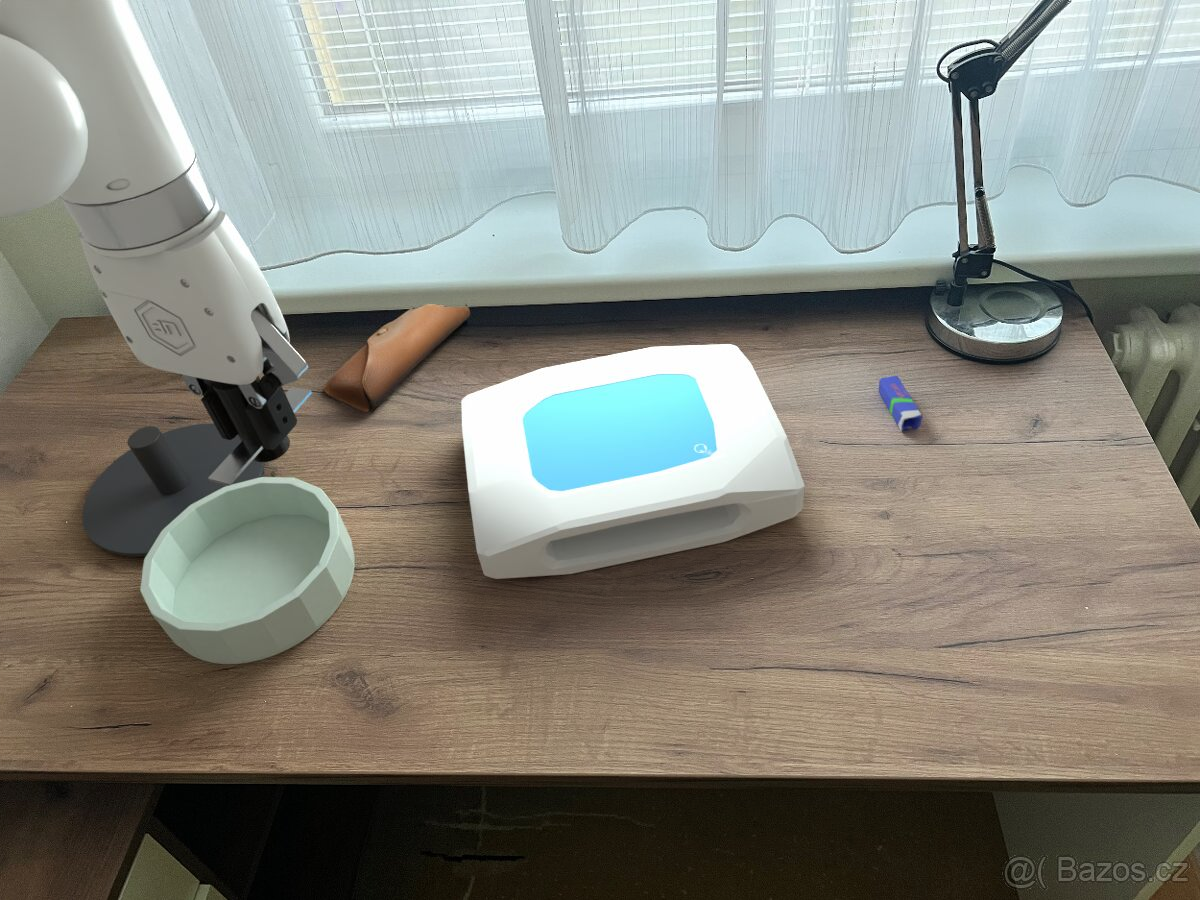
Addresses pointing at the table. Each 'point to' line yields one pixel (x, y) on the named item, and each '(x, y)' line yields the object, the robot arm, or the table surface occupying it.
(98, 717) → the table surface
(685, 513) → the document scanner
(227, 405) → the blade
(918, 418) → the eraser
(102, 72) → the robot arm
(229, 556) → the bowl
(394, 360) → the sunglasses case
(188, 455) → the lid
